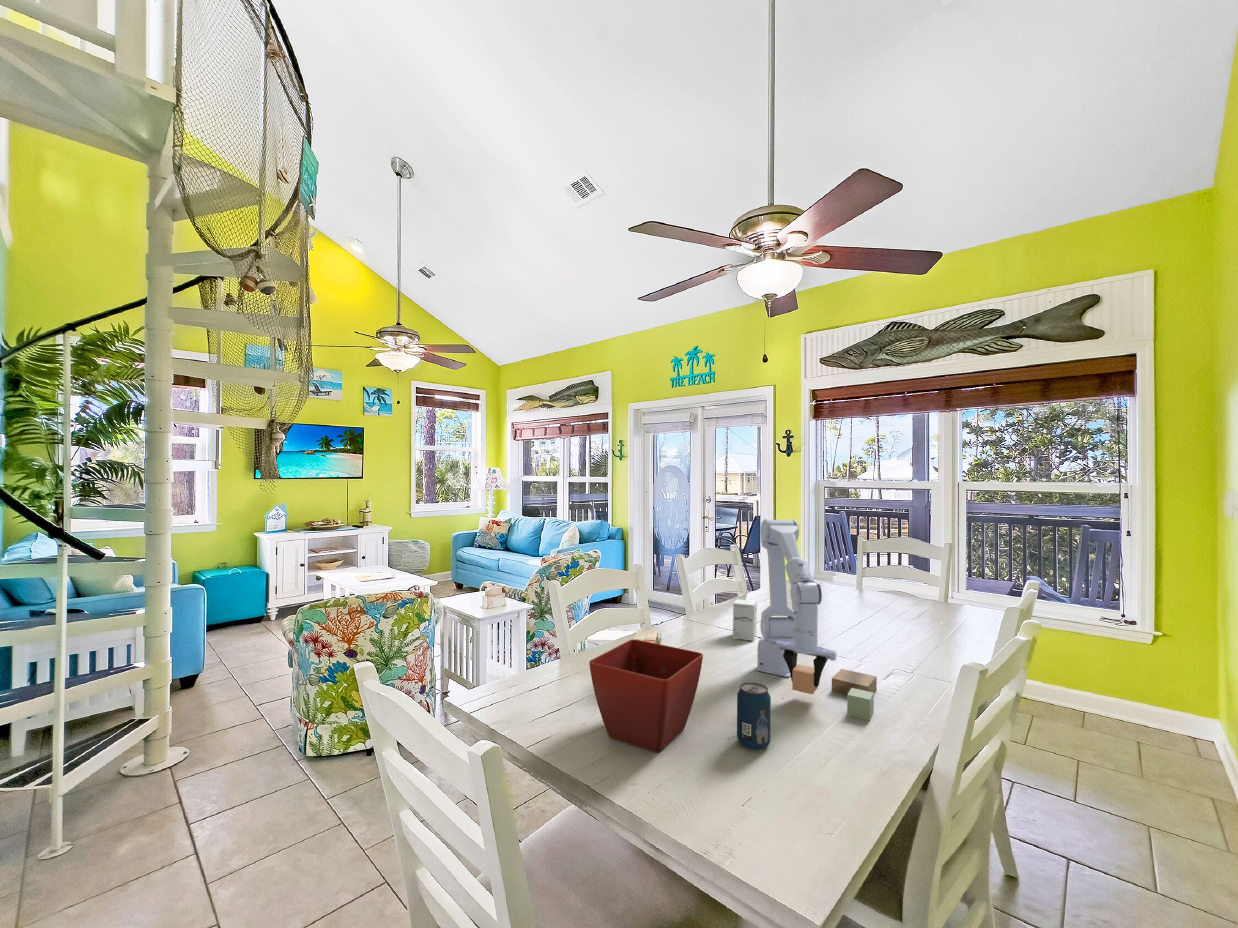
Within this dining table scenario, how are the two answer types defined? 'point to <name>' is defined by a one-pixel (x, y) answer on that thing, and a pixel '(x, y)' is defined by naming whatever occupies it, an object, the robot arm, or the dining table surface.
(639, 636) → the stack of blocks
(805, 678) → the terracotta cube
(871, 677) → the walnut block
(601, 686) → the plant pot
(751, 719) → the soda can
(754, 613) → the supplement box
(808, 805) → the dining table surface
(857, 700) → the green cube
